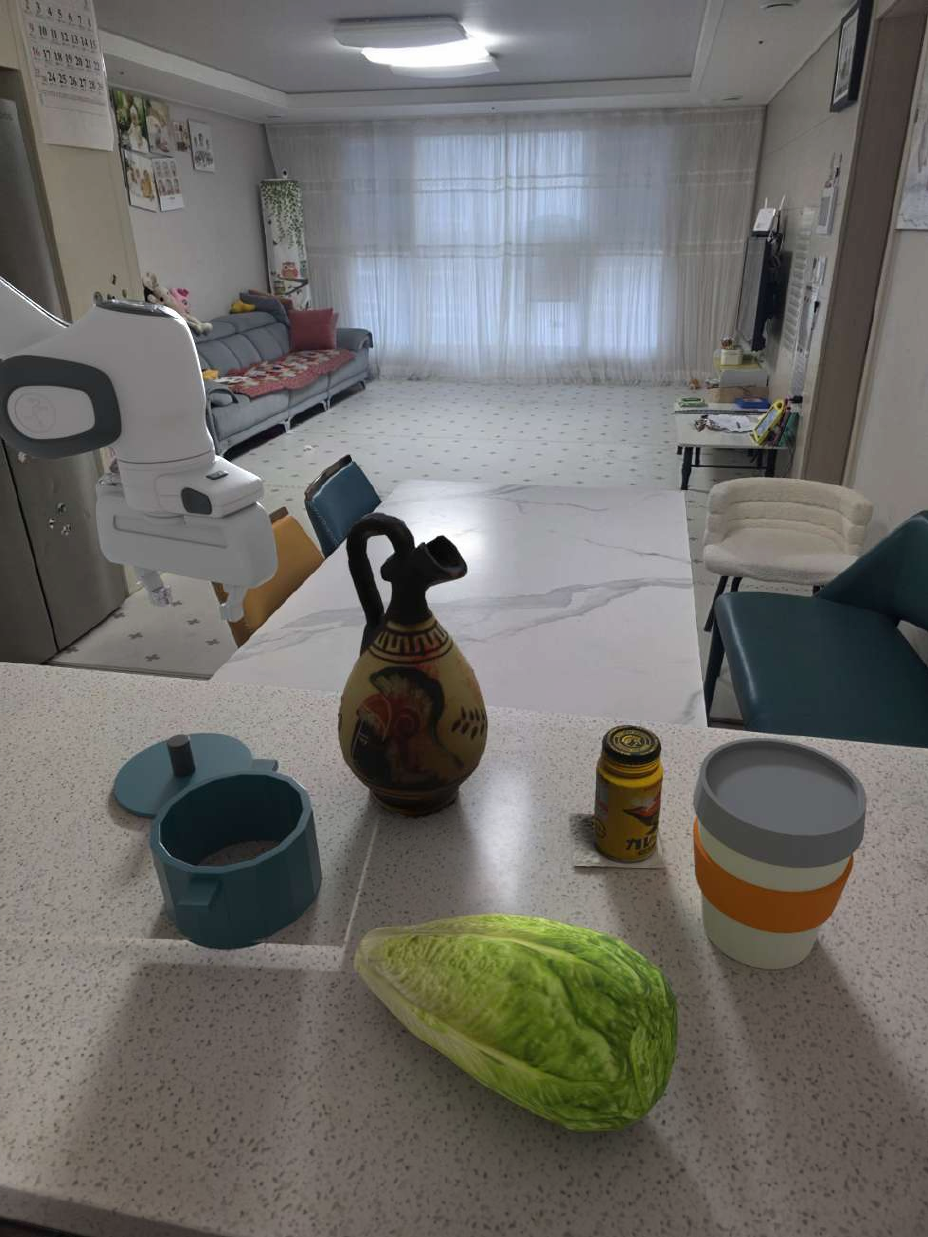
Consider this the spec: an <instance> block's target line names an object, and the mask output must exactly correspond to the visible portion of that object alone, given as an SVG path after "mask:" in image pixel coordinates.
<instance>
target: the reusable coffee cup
mask: <svg viewBox="0 0 928 1237" xmlns="http://www.w3.org/2000/svg"><path fill="white" fill-rule="evenodd" d="M692 798H693V799H692V800H693V801H692V804H693V805H692V806H693V809H694V813H695V815H696V817H695V818H694V819H695V820H694V822H693V827H692V828H693V829H692V830H693V831H692V834H693V835H692V836H693V837H692V838H693V859H694V860H693V861H694V862H693V863H694V876H695V880H696V883H697V885H698V888H699V890H700V900H701V902H700V903H701V921H702V926H703V928H704V929H703V930H704V931H705V933H706V935H707V937H708V938H709V940H710V941H711V942H712V943H713V945H714V946H716V947H717V949H718V950H720V951H721V952H722V953H724V955H726V956H727V957H728V958H730V959H733V960H735V961H737V962H738V963H741V964H743V965H747V966H749V967H752V968H757V969H763V970H782V969H788V968H791V967H793V966H794V967H795V966H797V965H798V964H800V963H802V962H803V961H804V960H805V959H806V958H807V957H808V956H809V955H810V953H811V951H812V949H813V947H814V945H815V942H816V940H817V937H818V935H819V933H820V931H821V928H822V926H823V924H824V923H826V922H827V921H828V920H829V918H831V917H832V916H833V914H834V913H835V912H834V911H835V909H836V908H837V905H838V904H839V901H840V898H841V896H842V894H843V891H844V889H845V887H846V884H847V882H848V880H849V877H850V875H851V873H852V870H853V866H854V853H856V851H858V849H859V848H860V846H861V844H862V842H863V840H864V834H865V827H866V814H867V813H866V812H867V799H868V798H867V794H866V790H865V788H864V786H863V784H862V782H861V781H860V779H859V778H858V777H857V775H856V774H855V773H854V772H853V771H852V770H851V769H850V768H849V767H847V766H846V765H845V764H843V763H842V762H841V761H840V760H838V759H837V758H835V757H833V756H831V755H829V754H828V753H825V752H823V751H821V750H820V749H819V750H818V749H817V748H815V747H811V746H808V745H805V744H803V743H799V742H795V741H790V740H786V739H777V738H770V737H752V738H741V739H736V740H732V741H729V742H726V743H724V744H721V745H718V746H717V747H715V748H714V749H713V750H711V751H709V752H708V753H707V755H706V756H705V757H704V758H703V760H702V763H701V765H700V767H699V772H698V776H697V779H696V783H695V787H694V792H693V797H692Z"/></svg>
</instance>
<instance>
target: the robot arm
mask: <svg viewBox="0 0 928 1237" xmlns="http://www.w3.org/2000/svg"><path fill="white" fill-rule="evenodd" d="M0 359H1V362H0V438H1V439H2V440H3V441H4V442H5V443H6V444H7V445H9V446H10V447H11V448H13V449H14V450H16V451H17V452H19V453H21V454H23V455H26V456H29V457H31V458H35V459H39V460H40V459H41V460H58V459H66V458H71V457H74V456H78V455H81V454H85V453H86V454H87V453H89V452H93V451H97V450H100V449H102V448H106V447H107V448H111V449H113V452H114V454H115V459H116V463H117V467H118V472H119V474H117V473H114V472H105V473H103V474H102V476H101V477H99V478H98V480H97V482H96V483H95V485H94V486H95V487H94V489H95V494H96V498H97V500H96V502H95V503H96V504H95V518H96V527H97V533H98V534H97V535H98V541H99V546H100V549H101V552H102V554H103V555H104V557H105V558H106V559H107V561H108V562H110V563H113V564H118V565H123V566H129V567H133V571H134V576H135V577H136V578H137V580H138V581H139V582H140V584H141V585H142V586H143V588H144V589H145V591H146V592H147V595H148V600H149V604H150V605H151V606H155V607H161V608H165V607H166V606H168V605H171V604H172V602H173V600H174V599H173V595H172V588H171V586H170V585H169V586H168V585H165V583H164V580H162V577H161V576H160V574H159V572H160V573H164V574H165V573H167V574H171V575H176V576H181V577H187V578H192V579H197V580H201V581H208V582H214V583H217V584H218V583H219V584H222V588H223V592H224V593H226V594H227V593H228V595H227V599H226V601H225V602H222V603H220V604H218V608H219V613H220V619H221V620H222V621H226V622H230V623H237V622H239V621H240V620H242V619H243V618H244V615H245V612H244V607H243V606H244V605H243V601H244V599H245V597H246V594H247V592H248V590H249V589H250V590H253V589H256V588H258V587H260V586H261V585H264V584H265V583H267V582H269V581H270V580H272V579H273V578H274V576H275V574H276V572H277V571H278V568H279V559H278V552H277V551H278V550H277V546H276V540H275V534H274V530H273V529H274V528H273V526H272V522H271V518H270V516H269V513H268V511H267V510H266V508H265V507H264V506H263V505H261V503H259V502H258V501H260V500H261V499H263V498H264V497H265V486H264V482H263V480H262V479H261V478H260V477H259V476H257V475H255V474H253V473H251V472H249V471H247V470H246V469H245V470H244V469H243V468H241V467H238V466H237V465H235V464H233V463H231V462H230V461H228V460H226V459H225V458H223V457H221V456H219V455H216V448H215V443H214V440H213V437H212V435H211V433H210V431H209V429H208V426H207V420H206V408H207V394H206V389H205V383H204V378H203V373H202V368H201V362H200V359H199V355H198V351H197V348H196V344H195V341H194V338H193V335H192V333H191V330H190V327H189V326H188V324H187V322H186V321H185V319H184V318H183V317H182V316H181V315H180V314H179V313H178V312H177V311H175V310H174V309H173V308H170V307H168V306H167V305H161V304H159V303H155V302H152V301H151V302H150V301H144V300H137V299H119V298H117V299H115V298H114V299H113V298H111V299H105V300H101V301H96V302H95V303H93V305H92V306H91V307H90V309H89V310H88V311H87V312H86V313H85V314H84V315H83V316H82V317H80V318H79V319H77V320H76V321H74V322H72V323H71V322H68V321H65V320H63V319H60V318H59V317H57V316H55V315H53V314H52V313H50V312H48V311H47V310H46V309H44V308H43V307H42V306H41V305H39V304H38V303H36V302H35V301H34V300H32V299H31V298H30V297H28V296H26V294H25V293H24V292H22V291H20V290H19V289H17V288H16V287H15V286H14V285H12V283H10V282H8V281H7V280H6V279H4V277H2V276H0Z"/></svg>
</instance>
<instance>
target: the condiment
mask: <svg viewBox="0 0 928 1237" xmlns="http://www.w3.org/2000/svg"><path fill="white" fill-rule="evenodd" d="M661 752H662V744H661V740H660V739H659V737H658V736H657V735H656V734H655V733H654V732H653V731H652V730H649V729H647V728H645V727H643V726H639V725H632V724H621V725H617V726H614V727H612V728H611V729H609V730H608V731H607V732H606V733H605V734H604V735H603V736H602V740H601V750H600V756H599V757H598V759H597V761H596V767H595V768H596V769H595V793H594V808H593V810H594V811H593V812H594V813H592V814H591V813H581V812H575V813H574V812H573V813H572V812H570V813H569V827H570V828H569V829H570V840H571V842H570V843H571V853H572V856H571V857H572V866H573V867H610V868H613V867H614V868H626V869H628V868H629V869H632V868H634V869H664V868H666V864H665V863H666V862H665V858H664V854H663V850H662V845H661V841H660V836H659V825H660V814H661V805H662V804H661V803H662V801H661V798H662V791H663V790H662V789H663V781H664V774H663V773H664V766H663V763H662V762H661V754H662V753H661Z"/></svg>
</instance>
